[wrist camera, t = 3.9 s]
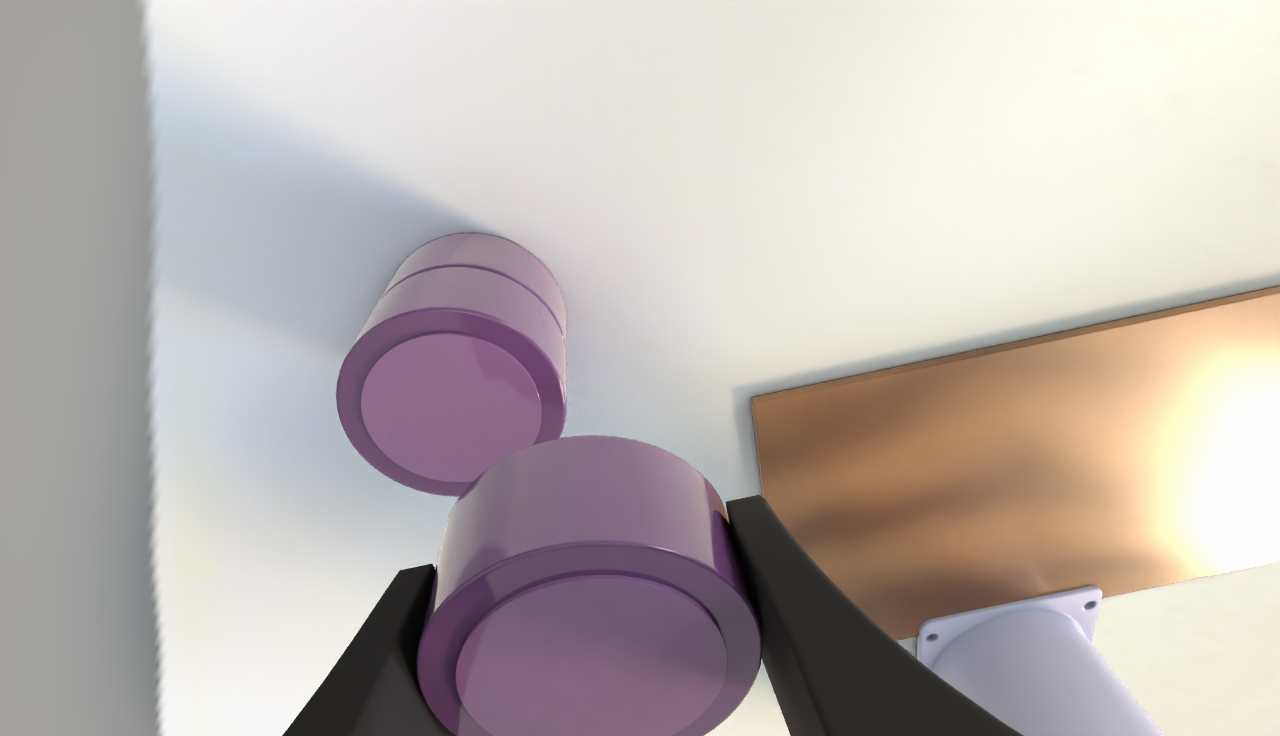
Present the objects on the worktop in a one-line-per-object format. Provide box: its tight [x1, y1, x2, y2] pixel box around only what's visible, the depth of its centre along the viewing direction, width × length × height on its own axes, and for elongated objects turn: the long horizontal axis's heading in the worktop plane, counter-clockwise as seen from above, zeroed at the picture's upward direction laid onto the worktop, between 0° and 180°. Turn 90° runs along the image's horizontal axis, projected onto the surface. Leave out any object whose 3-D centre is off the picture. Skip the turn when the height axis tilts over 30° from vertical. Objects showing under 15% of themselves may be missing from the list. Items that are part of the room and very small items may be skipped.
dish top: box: [416, 435, 763, 736], centre depth 12 cm, size 5×5×3 cm
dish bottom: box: [375, 233, 567, 358], centre depth 20 cm, size 5×5×3 cm
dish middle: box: [336, 267, 567, 497], centre depth 17 cm, size 5×5×3 cm
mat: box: [751, 286, 1280, 641], centre depth 26 cm, size 14×22×1 cm, turn 101°
